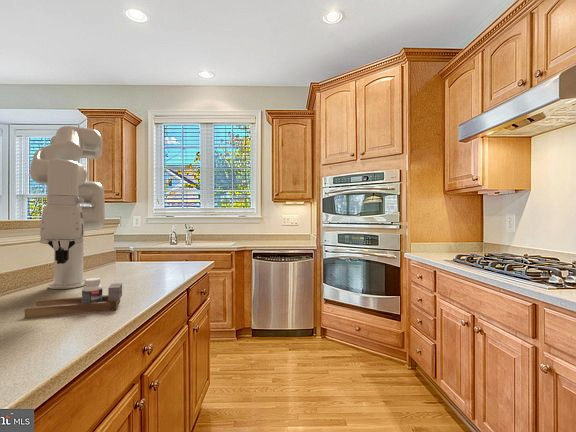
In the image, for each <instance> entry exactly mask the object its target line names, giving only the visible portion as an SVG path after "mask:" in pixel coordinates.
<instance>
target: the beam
mask: <svg viewBox="0 0 576 432" xmlns="http://www.w3.org/2000/svg"><path fill="white" fill-rule="evenodd" d="M107 289H108V290H107V293H108V294H106V295H104V294H102V302H92V303H82V296H75V297H71V296H70V297H59V298H58V297H57V298H56V297H55V298H46V299H45V298H42V299H38V300H36V301H35V302H36V304H35V305H36V306H28V307H25V308H24V319H28V318H29V319H30V318H39V317H53V316H63V315H64V316H65V315H75V314H87V313H89V314H90V313H99V312H100V313H101V312H114V311H117V309H118V307H119V304H120V303H121V298H122V296H123V283H122V282H120V283H119V282H118V283H117V282H115V283H110V285H109V286H108V288H107Z"/></svg>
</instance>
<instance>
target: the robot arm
mask: <svg viewBox="0 0 576 432" xmlns="http://www.w3.org/2000/svg"><path fill="white" fill-rule="evenodd" d="M103 143H104V141H103V136H102V135H101V133H100V132H99V131H98V130H97V129H94V128H93V129H92V128H88V127H87V128H86V127H82V126H81V127H80V126H74V125H73V126H71V125H63V126H61V127H60V128H58V129H57V130H56V133H55V135H54V136H52V137H51V138H50V144H49V145H47V146H43V147H40V148H39V149H37V150H36V151H35V153H34V154H33V156H32V159H31V163H30V167H29V175H30V178H31V180H32V181H34V182H35V183H37V184H41V185H46V205H44V206H43V210H42V213H41V220H40V227H39V228H40V229H39V236H40V239H39V243H40V244H43V245H48V246H50V247H51V248H52V249H53V251H54V252H53V282H50V283H48V287H47V288H49V289H52V290H65V289H66V290H69V289H74V288H81V287H85V286H86V285H85V279H84V246H85V244H84V243H85V240H84V235H85V231H87V230H88V231H94V230H101V229H102V228H103V227H104V225H105V222H106V221H105V217H106V214H105V208H106V207H105V195H106V194H105V187H104V185H102V184H101V182H98V181H92V180H91V181H89V180H87V178H88V171H87V169H86V168H85V166H84V165H83V164H82V163H79V161H80V160H82V159H87V160H88V159H90V160H98V159H100V158H101V157H102V153H103V145H104V144H103ZM82 205H85V206H82ZM86 205H90V206H86Z"/></svg>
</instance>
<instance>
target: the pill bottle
mask: <svg viewBox="0 0 576 432" xmlns="http://www.w3.org/2000/svg"><path fill="white" fill-rule="evenodd" d="M84 280H85V285H84V286H82V289H81V297H82V303H92V302H102V295H103V286H102V285H101V278H100V277H89V278H85V279H84Z"/></svg>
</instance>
